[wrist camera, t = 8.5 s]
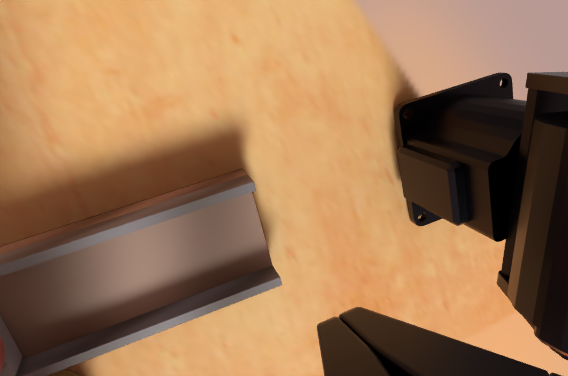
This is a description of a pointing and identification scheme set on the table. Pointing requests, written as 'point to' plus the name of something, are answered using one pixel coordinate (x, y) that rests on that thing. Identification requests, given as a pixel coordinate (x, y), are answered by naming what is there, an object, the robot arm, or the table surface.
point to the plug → (8, 352)
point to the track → (133, 272)
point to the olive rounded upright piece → (64, 373)
